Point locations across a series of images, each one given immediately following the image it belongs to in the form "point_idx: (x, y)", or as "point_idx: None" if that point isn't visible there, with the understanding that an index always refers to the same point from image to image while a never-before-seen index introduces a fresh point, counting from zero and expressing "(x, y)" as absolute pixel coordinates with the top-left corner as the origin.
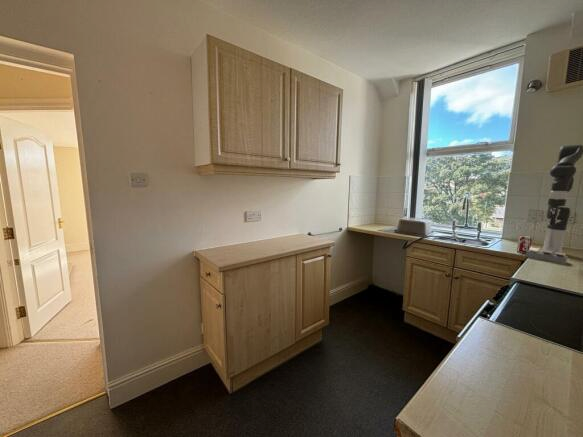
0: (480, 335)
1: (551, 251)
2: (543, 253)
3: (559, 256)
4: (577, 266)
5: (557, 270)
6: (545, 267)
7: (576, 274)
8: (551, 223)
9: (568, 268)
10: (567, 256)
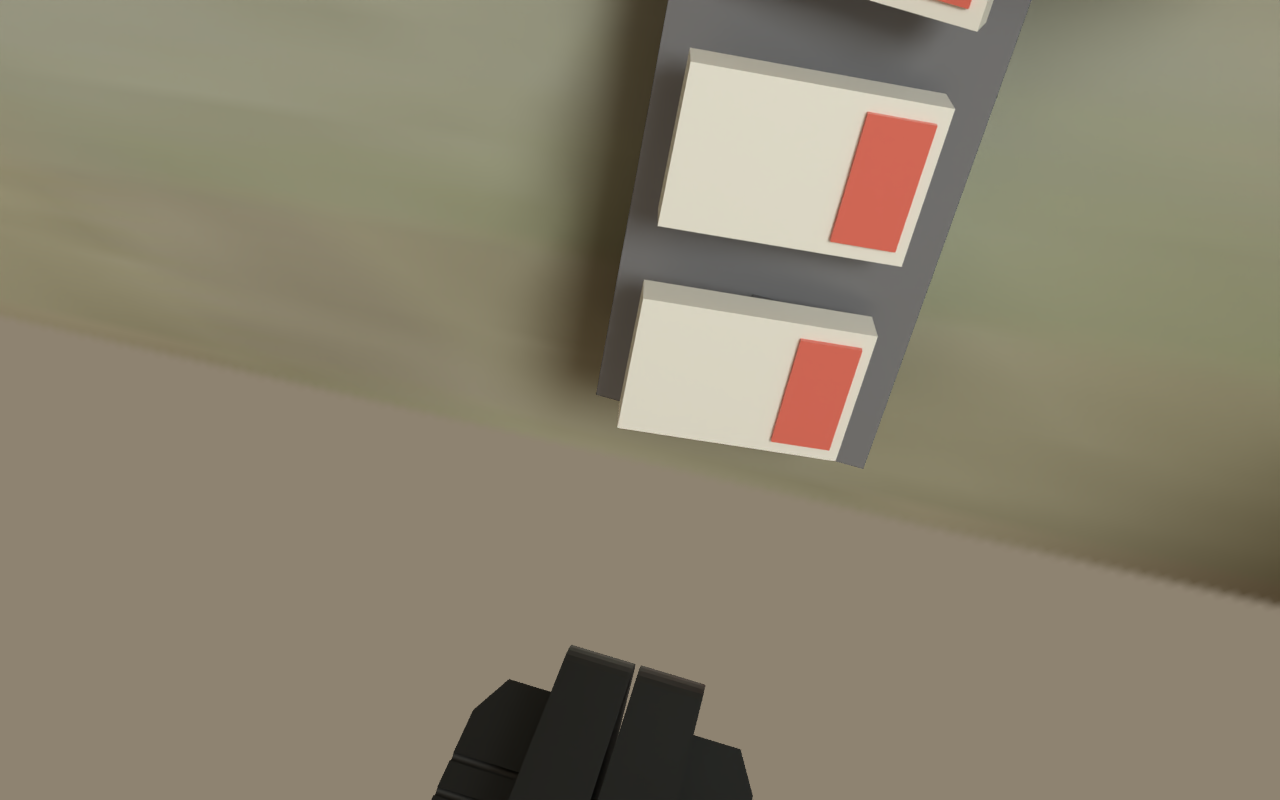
0: None
1: (760, 241)
2: None
3: None
4: (669, 467)
5: (91, 150)
6: (109, 7)
7: (112, 333)
8: (471, 745)
9: (392, 320)
10: (840, 458)
